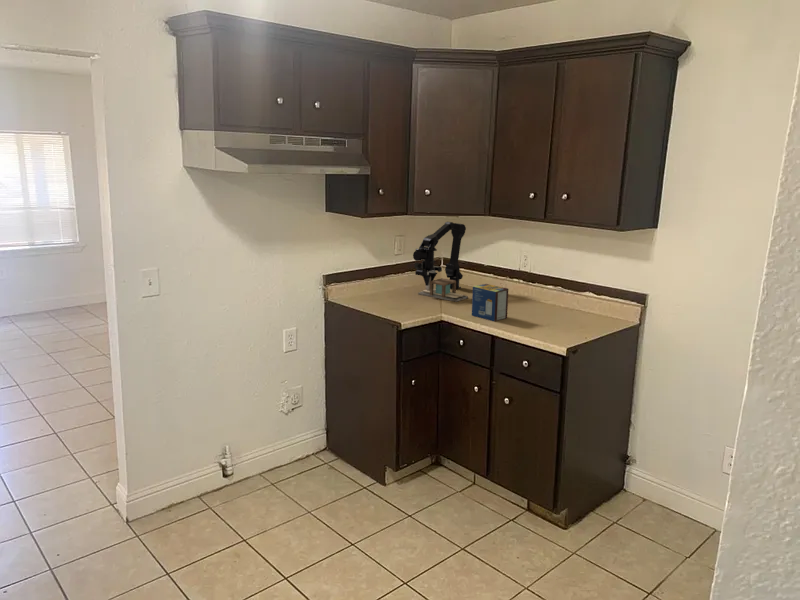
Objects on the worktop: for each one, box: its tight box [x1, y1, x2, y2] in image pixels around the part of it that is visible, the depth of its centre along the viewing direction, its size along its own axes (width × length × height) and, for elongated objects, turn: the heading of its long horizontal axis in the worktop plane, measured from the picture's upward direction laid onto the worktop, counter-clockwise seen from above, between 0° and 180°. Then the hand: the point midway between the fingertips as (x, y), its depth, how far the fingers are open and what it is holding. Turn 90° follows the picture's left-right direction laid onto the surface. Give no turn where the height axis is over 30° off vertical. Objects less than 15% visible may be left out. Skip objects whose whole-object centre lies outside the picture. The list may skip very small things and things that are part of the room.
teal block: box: [435, 284, 451, 294], centre depth 361 cm, size 6×6×5 cm
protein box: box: [471, 283, 509, 322], centre depth 318 cm, size 10×15×16 cm
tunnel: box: [417, 277, 469, 302], centre depth 361 cm, size 12×27×9 cm, turn 51°
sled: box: [421, 276, 465, 298], centre depth 361 cm, size 8×24×9 cm, turn 51°
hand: (428, 285), depth 367 cm, fingers closed on sled, 3 cm apart
